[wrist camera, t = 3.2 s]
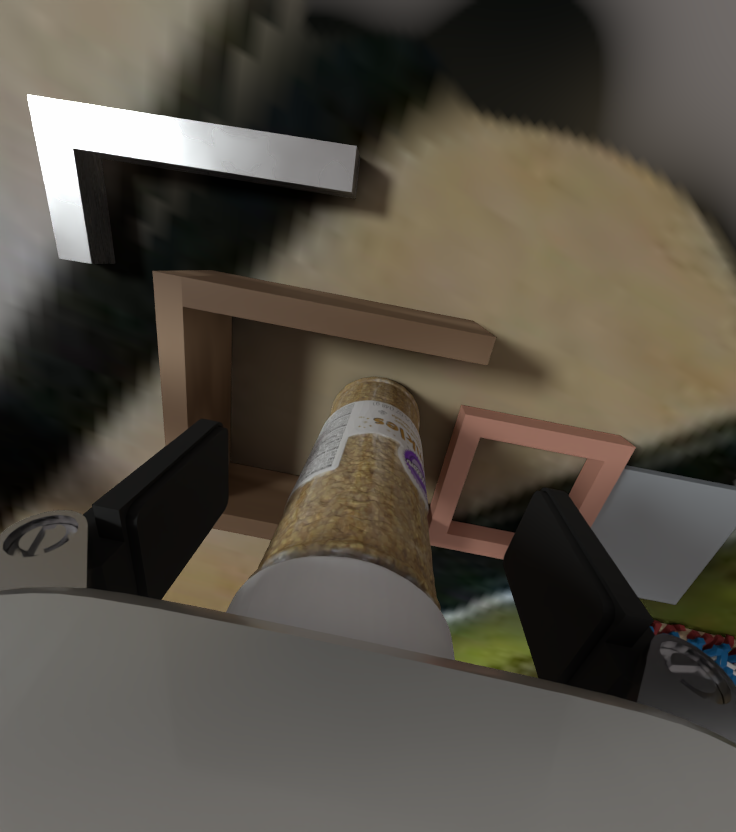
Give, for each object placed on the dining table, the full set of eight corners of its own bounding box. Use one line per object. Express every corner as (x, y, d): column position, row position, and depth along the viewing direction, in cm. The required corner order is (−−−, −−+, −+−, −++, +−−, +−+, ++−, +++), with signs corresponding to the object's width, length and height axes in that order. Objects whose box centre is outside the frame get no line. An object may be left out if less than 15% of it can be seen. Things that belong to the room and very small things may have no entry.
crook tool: (360, 157, 13) (356, 146, 12) (344, 301, 16) (339, 304, 14) (61, 110, 14) (27, 94, 12) (86, 259, 16) (59, 258, 15)
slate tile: (669, 597, 21) (675, 604, 20) (555, 574, 21) (558, 581, 20) (751, 489, 18) (761, 495, 17) (616, 463, 18) (622, 468, 17)
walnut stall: (416, 513, 20) (420, 569, 16) (212, 473, 20) (171, 520, 16) (473, 320, 15) (496, 337, 12) (210, 270, 15) (152, 271, 12)
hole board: (556, 555, 20) (565, 571, 19) (422, 528, 20) (424, 543, 19) (620, 435, 17) (635, 447, 16) (461, 404, 17) (465, 414, 16)
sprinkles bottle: (437, 419, 17) (532, 782, 5) (372, 469, 19) (325, 844, 7) (376, 353, 16) (308, 614, 4) (312, 412, 18) (121, 733, 6)
